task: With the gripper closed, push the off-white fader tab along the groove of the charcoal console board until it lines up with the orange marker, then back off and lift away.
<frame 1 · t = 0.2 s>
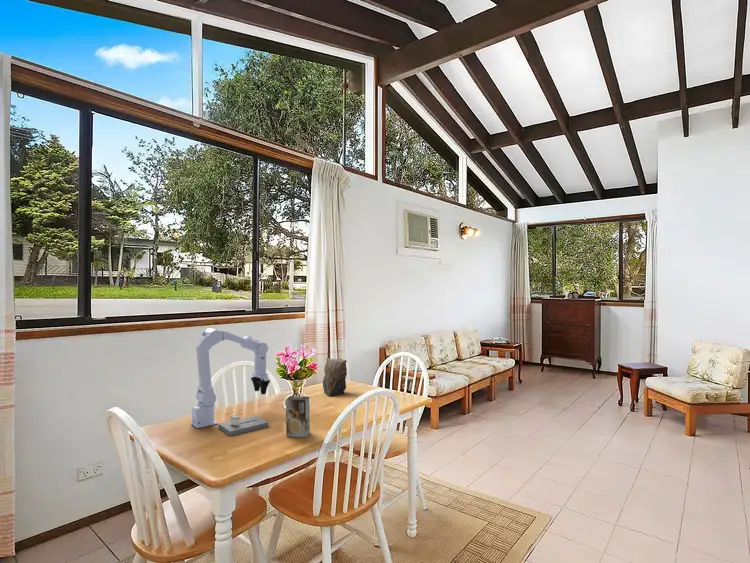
hand: (260, 392, 219), 10 cm above the table, tool pointing down, fingers open, 7 cm apart
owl: (332, 394, 254), on the table
console: (243, 427, 197), on the table
coffee box: (298, 435, 188), on the table
fader tab: (235, 420, 194), point 4 cm above the table, slide at 1.0 cm
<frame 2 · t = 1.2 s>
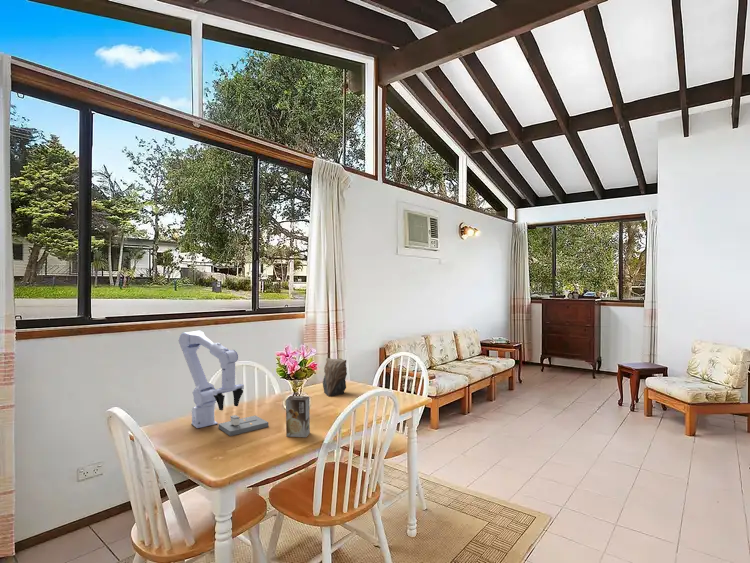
hand: (228, 407, 195), 10 cm above the table, tool pointing down, fingers open, 7 cm apart
nothing on the table moved.
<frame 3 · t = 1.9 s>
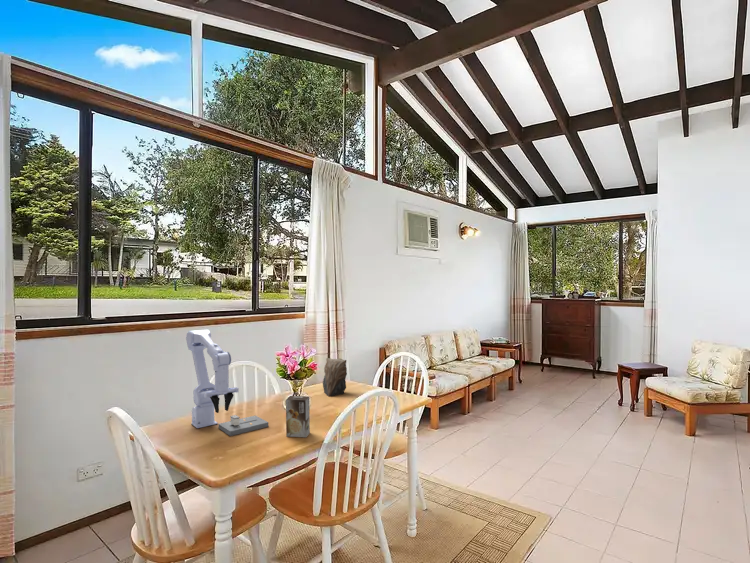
hand: (221, 411, 190), 9 cm above the table, tool pointing down, fingers open, 4 cm apart
nothing on the table moved.
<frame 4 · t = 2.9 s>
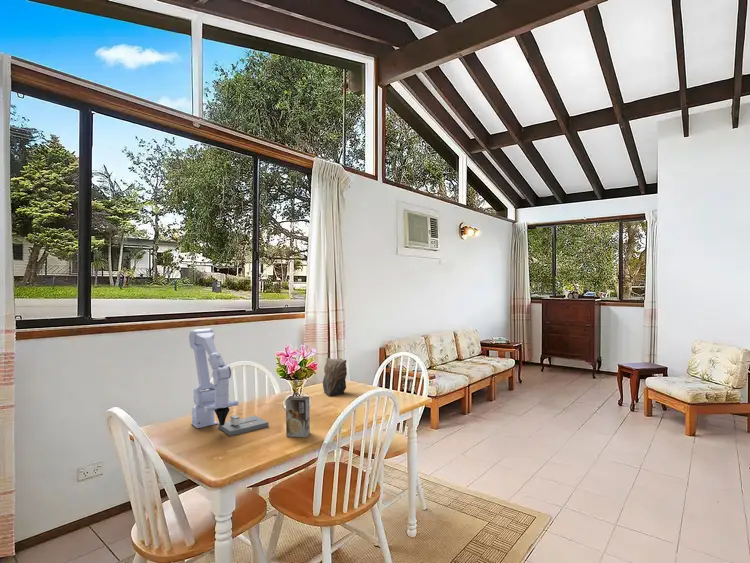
hand: (221, 424, 190), 3 cm above the table, tool pointing down, fingers closed
nothing on the table moved.
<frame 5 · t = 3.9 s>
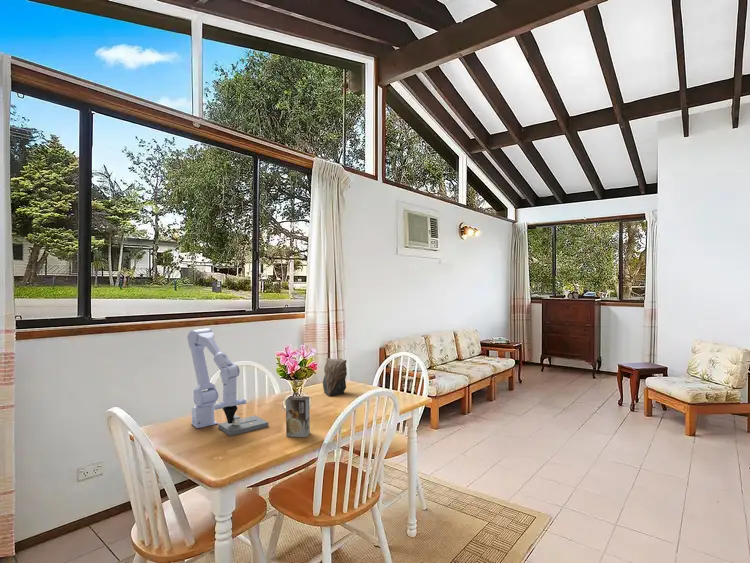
hand: (229, 423, 193), 3 cm above the table, tool pointing down, fingers closed
fader tab: (235, 420, 194), point 4 cm above the table, slide at 1.2 cm, touching gripper
everything else where it was.
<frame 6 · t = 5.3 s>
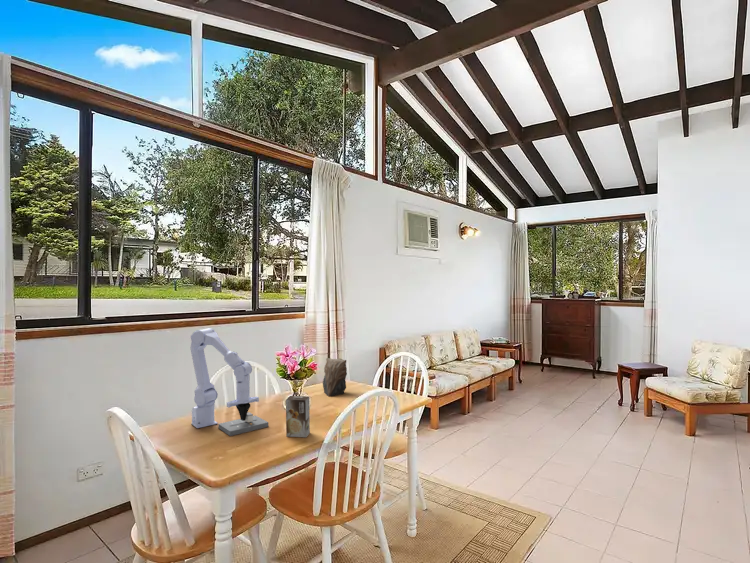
hand: (243, 420, 197), 3 cm above the table, tool pointing down, fingers closed
fader tab: (248, 417, 198), point 4 cm above the table, slide at 7.3 cm, touching gripper
everything else where it was.
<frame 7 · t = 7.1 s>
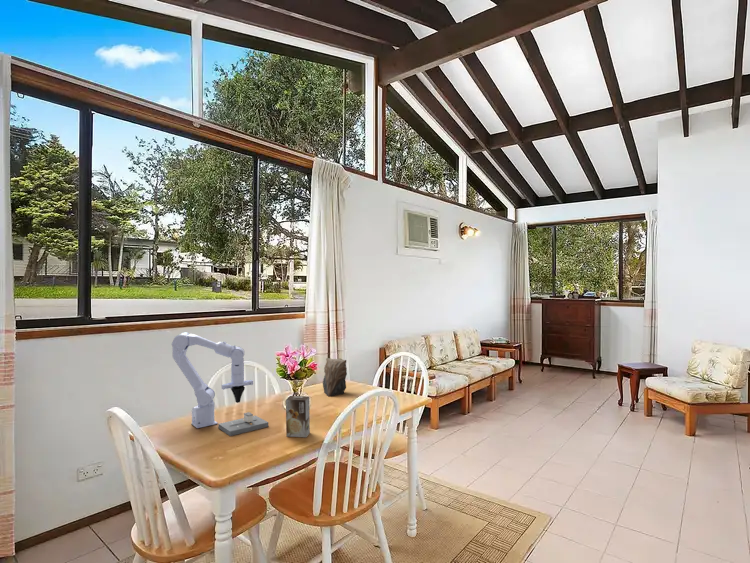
hand: (237, 402, 204), 9 cm above the table, tool pointing down, fingers closed
fader tab: (248, 417, 198), point 4 cm above the table, slide at 7.4 cm
everything else where it was.
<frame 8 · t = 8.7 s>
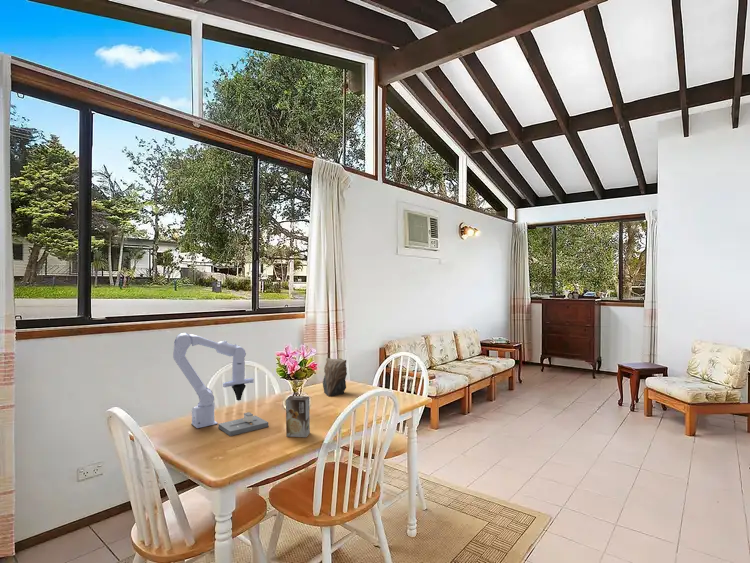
hand: (238, 399, 208), 9 cm above the table, tool pointing down, fingers closed
nothing on the table moved.
at the end: fader tab slide at 7.4 cm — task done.
